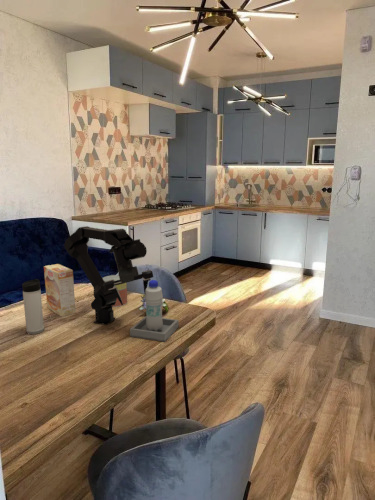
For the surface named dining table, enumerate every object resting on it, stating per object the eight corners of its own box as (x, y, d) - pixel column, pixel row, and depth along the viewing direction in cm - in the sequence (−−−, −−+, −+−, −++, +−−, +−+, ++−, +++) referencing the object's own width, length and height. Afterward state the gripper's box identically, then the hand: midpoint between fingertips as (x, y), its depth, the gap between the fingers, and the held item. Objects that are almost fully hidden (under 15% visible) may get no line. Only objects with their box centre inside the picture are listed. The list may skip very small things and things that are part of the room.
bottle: (165, 332, 142) (164, 282, 137) (147, 335, 141) (145, 284, 135) (161, 324, 149) (160, 276, 144) (144, 327, 147) (142, 278, 142)
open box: (130, 336, 141) (129, 329, 140) (146, 322, 153) (146, 315, 153) (164, 341, 136) (164, 334, 135) (178, 327, 149) (178, 319, 148)
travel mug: (48, 329, 148) (44, 279, 144) (35, 335, 142) (30, 284, 138) (36, 326, 150) (31, 278, 146) (23, 332, 144) (17, 282, 140)
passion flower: (153, 328, 162) (136, 309, 156) (149, 314, 171) (133, 296, 166) (174, 313, 161) (159, 294, 156) (169, 300, 171) (154, 282, 166)
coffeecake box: (46, 307, 171) (43, 266, 167) (61, 304, 176) (58, 263, 172) (60, 317, 160) (57, 272, 156) (76, 312, 165) (73, 269, 161)
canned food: (119, 297, 185) (118, 273, 182) (132, 303, 177) (131, 278, 174) (98, 302, 177) (97, 278, 175) (111, 309, 169) (109, 283, 167)
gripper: (97, 269, 134) (108, 311, 135) (148, 256, 136) (159, 297, 137) (100, 267, 145) (110, 307, 146) (147, 255, 147) (157, 294, 148)
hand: (134, 301), depth 144 cm, fingers open, 9 cm apart
